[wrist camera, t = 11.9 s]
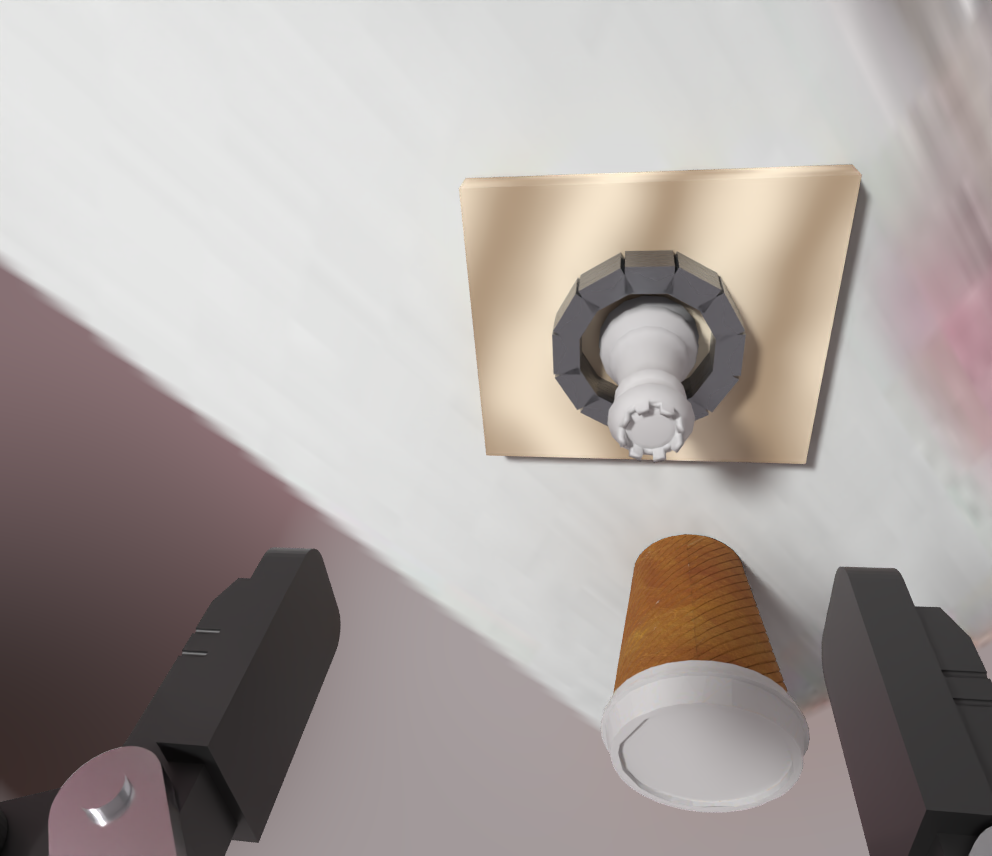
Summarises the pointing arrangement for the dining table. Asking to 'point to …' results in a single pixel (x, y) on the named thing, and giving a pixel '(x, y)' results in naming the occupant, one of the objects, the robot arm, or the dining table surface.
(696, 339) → the rook chess piece
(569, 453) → the birch base plate
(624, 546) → the dining table surface
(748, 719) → the disposable coffee cup
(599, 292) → the steel socket collar
